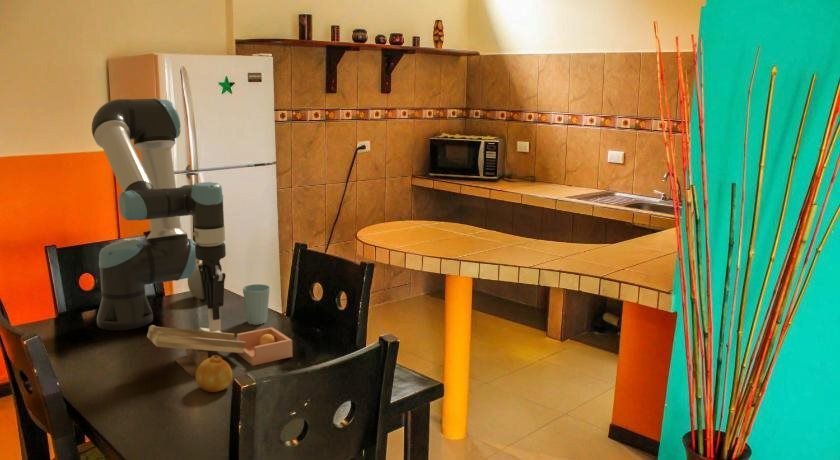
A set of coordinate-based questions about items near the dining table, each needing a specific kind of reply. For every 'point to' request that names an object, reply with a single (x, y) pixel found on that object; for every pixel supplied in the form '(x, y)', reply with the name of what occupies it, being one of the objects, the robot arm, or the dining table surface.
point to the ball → (267, 339)
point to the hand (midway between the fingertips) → (215, 330)
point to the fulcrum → (192, 360)
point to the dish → (264, 346)
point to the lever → (194, 339)
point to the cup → (256, 303)
